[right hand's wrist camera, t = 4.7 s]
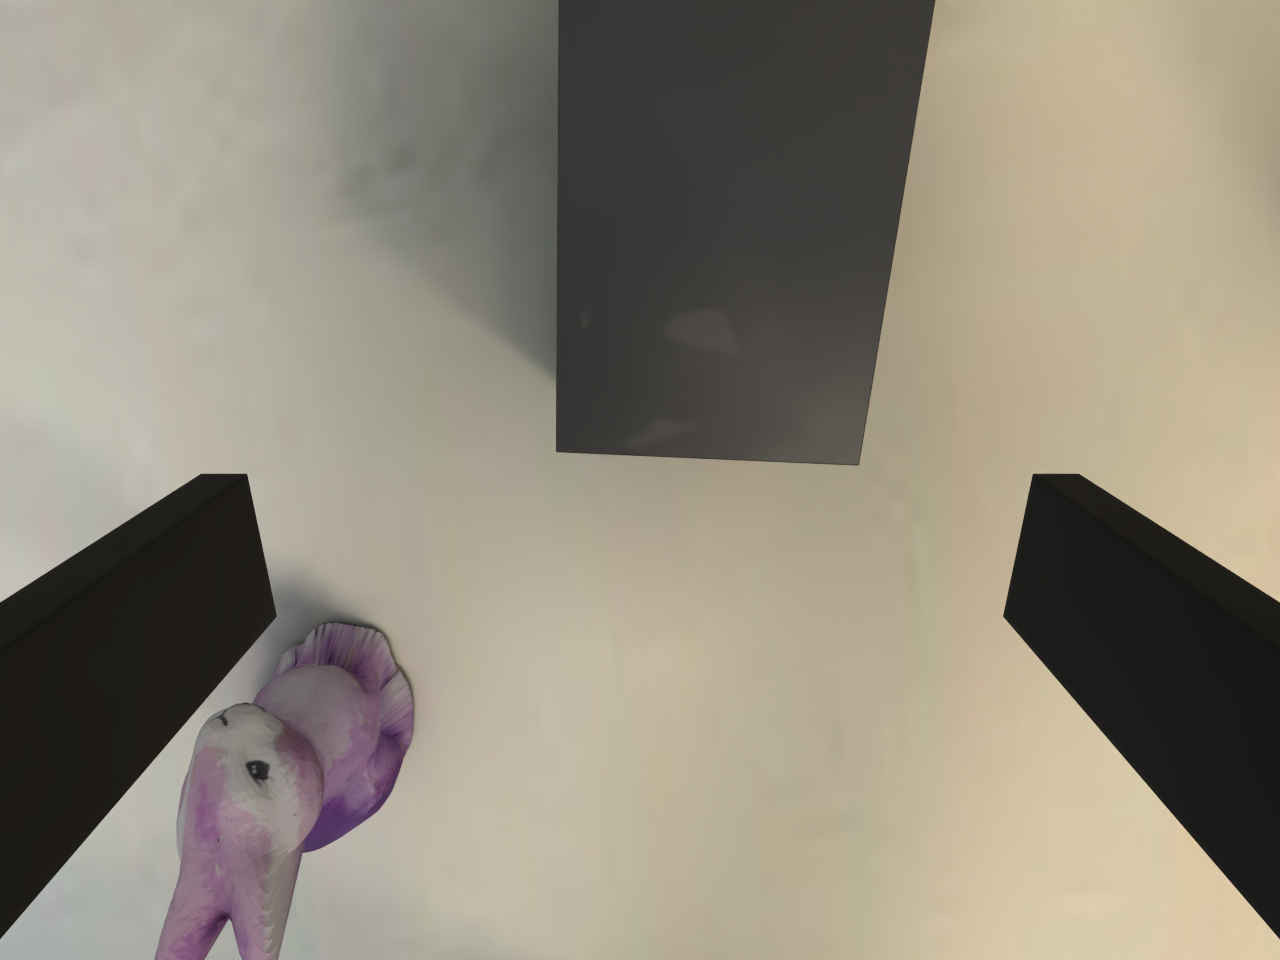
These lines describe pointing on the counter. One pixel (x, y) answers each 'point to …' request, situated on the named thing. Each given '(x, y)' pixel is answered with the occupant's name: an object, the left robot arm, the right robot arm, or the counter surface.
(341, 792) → the figurine
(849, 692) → the counter surface
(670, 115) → the cabinet
